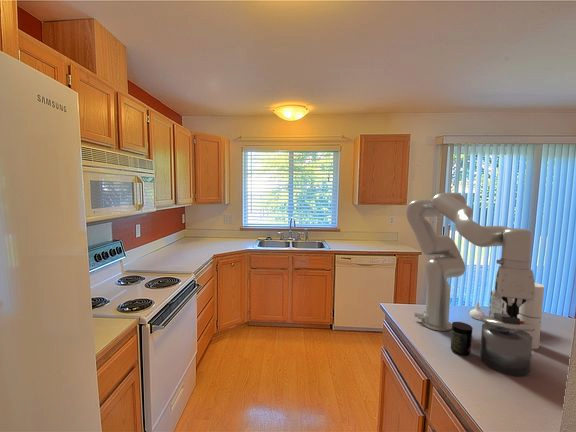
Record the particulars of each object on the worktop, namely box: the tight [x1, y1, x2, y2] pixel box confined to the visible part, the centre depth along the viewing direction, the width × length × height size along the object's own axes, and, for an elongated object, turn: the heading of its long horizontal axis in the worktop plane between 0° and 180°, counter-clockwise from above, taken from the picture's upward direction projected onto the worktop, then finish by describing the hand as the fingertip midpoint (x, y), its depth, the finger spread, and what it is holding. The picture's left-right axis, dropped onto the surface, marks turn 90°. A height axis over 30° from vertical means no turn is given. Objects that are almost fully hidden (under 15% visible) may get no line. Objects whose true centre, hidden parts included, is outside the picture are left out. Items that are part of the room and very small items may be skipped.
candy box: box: [488, 289, 518, 317], centre depth 127 cm, size 14×6×16 cm, turn 110°
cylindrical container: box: [517, 281, 545, 350], centre depth 110 cm, size 7×7×25 cm
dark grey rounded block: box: [479, 322, 533, 378], centre depth 98 cm, size 14×14×12 cm
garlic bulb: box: [469, 301, 486, 321], centre depth 134 cm, size 6×6×8 cm
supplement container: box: [450, 321, 473, 357], centre depth 105 cm, size 7×7×10 cm
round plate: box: [480, 313, 535, 331], centre depth 98 cm, size 16×15×3 cm
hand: (512, 315), depth 96 cm, fingers closed
